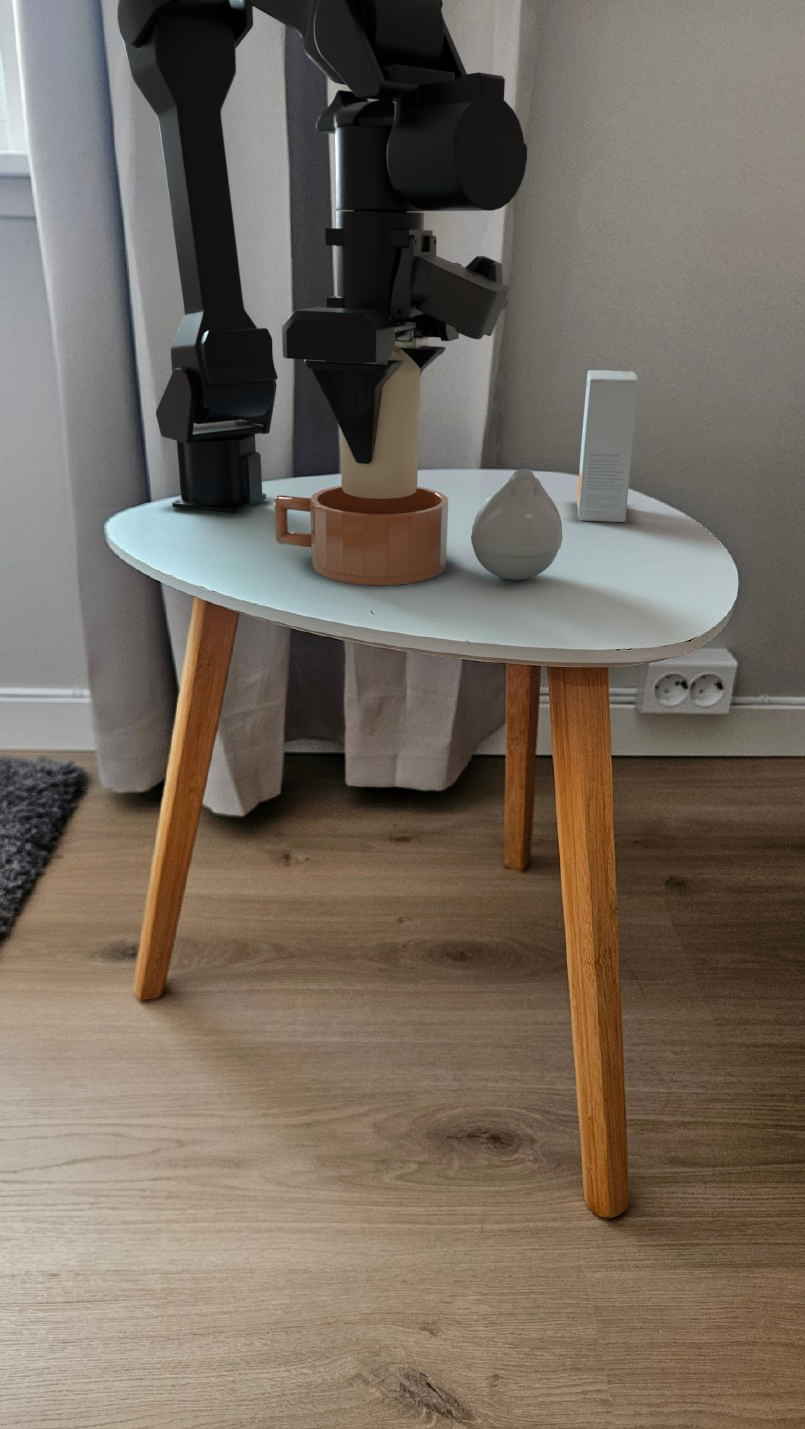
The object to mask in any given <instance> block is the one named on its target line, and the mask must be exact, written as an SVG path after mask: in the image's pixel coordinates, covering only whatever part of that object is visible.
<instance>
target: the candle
mask: <svg viewBox="0 0 805 1429" xmlns="http://www.w3.org/2000/svg"><path fill="white" fill-rule="evenodd" d="M388 360H402V361H403V364H402V365H401V366H400V367H399V369H398V370H397V371H396V372H395V373H394V374H393V375H392V376H391V377H390V378H389V379H388V380H387V381H386V383H385V384H384V386H383V389H382V397H381V405H380V412H379V420H378V427H377V435H376V442H375V448H374V454H373V459H372V462H371V463H369V464H361V463H357V462H356V461H355V459H354V457H353V455H352V453H351V450H350V448H349V446H348V444H347V442H346V440H345V437H344V435H343V433H342V431H341V430H340V451H341V452H340V456H341V457H340V458H341V459H340V463H341V465H340V466H341V468H340V469H341V472H340V473H341V486H342V489H343V491H344V492H345V493H347V494H349V495H352V496H357V497H363V498H375V499H388V498H400V497H405V496H409V495H412V494H414V493H415V492H416V490H417V487H418V477H419V475H418V474H419V441H420V440H419V439H420V438H419V437H420V395H421V394H420V392H421V388H420V387H421V376H420V368H419V366H418V365H417V364H416V363H415V362H414V361H413V360H412V359H411V358H410V357H409V356H408V355H407V354H406V353H405V352H404V351H403V350H402V349H400V348H398V347H397V346H396V345H394V348H393V352H392V355H391V358H390V359H388Z"/></svg>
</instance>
